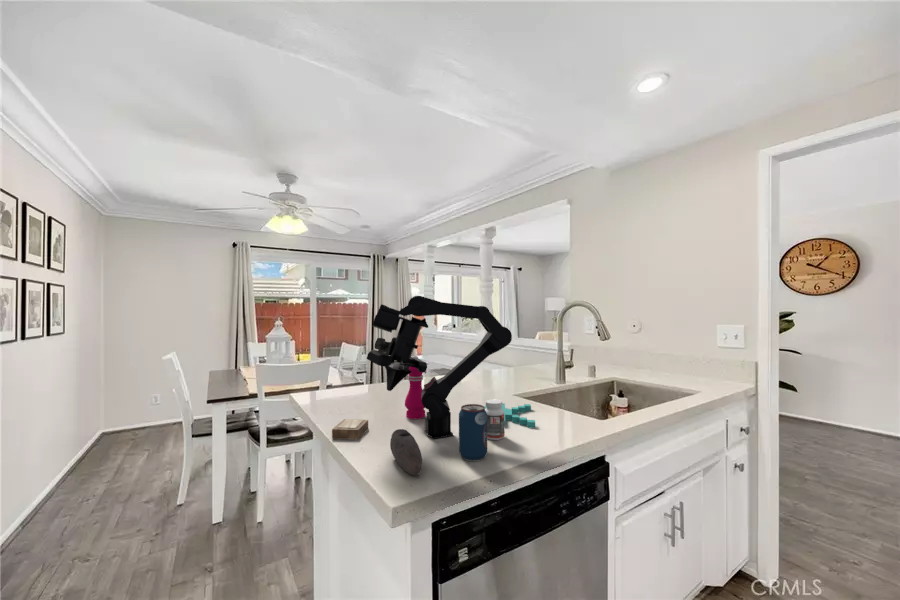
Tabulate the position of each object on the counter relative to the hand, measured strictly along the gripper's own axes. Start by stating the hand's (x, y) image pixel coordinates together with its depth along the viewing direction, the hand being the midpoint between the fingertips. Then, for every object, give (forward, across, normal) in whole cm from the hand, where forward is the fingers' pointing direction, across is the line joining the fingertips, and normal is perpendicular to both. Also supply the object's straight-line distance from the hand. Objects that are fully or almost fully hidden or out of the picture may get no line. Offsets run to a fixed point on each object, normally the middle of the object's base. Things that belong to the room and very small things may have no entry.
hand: (388, 390), depth 108 cm
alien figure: (+1, -37, +16) cm, 41 cm away
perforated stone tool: (+11, +8, +22) cm, 26 cm away
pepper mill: (+10, -21, -5) cm, 23 cm away
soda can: (+5, -6, +29) cm, 30 cm away
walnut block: (+14, 0, -4) cm, 14 cm away
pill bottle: (+3, -20, +25) cm, 32 cm away
